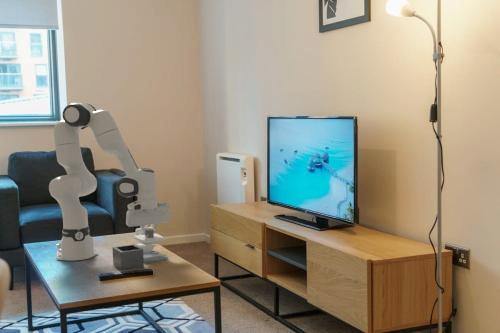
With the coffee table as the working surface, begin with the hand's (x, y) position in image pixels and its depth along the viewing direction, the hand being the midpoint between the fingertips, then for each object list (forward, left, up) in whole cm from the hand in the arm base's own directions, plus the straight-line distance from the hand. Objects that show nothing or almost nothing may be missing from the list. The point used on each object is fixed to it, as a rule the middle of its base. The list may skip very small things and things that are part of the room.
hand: (149, 234), depth 303 cm
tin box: (+9, -13, -11) cm, 19 cm away
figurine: (-14, +3, -11) cm, 18 cm away
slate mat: (0, 0, -11) cm, 11 cm away
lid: (0, 0, -4) cm, 4 cm away
